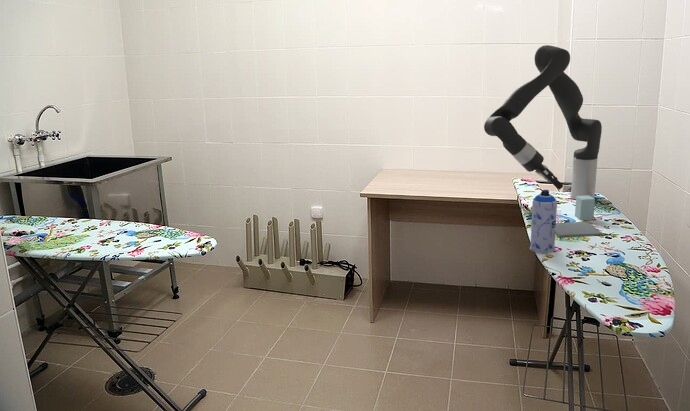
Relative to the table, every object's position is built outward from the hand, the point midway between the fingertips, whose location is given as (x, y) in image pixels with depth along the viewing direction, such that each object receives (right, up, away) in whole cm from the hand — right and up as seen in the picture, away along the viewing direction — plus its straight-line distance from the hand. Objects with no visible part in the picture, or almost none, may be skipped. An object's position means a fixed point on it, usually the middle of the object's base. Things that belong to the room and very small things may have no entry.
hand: (557, 184), depth 212 cm
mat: (+3, -16, -9) cm, 19 cm away
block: (+12, -12, +4) cm, 17 cm away
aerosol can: (-14, -22, -25) cm, 36 cm away
